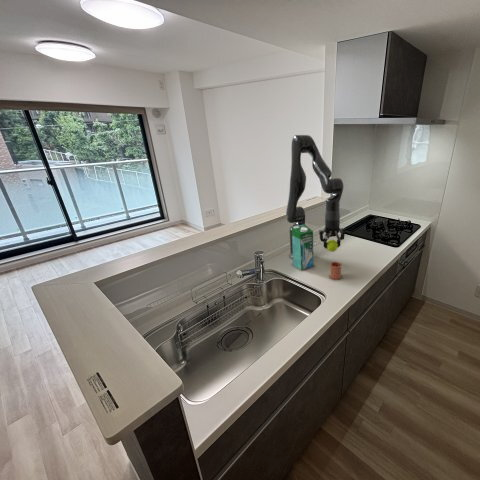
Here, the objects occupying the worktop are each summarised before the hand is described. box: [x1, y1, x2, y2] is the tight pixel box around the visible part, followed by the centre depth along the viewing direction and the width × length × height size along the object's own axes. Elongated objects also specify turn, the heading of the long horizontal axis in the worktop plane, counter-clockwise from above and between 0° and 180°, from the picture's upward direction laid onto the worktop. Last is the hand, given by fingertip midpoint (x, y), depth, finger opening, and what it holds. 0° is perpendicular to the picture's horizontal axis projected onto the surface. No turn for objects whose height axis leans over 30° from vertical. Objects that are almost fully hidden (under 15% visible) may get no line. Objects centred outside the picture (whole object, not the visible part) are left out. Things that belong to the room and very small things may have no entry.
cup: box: [329, 261, 342, 280], centre depth 144 cm, size 6×6×8 cm
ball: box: [326, 239, 339, 253], centre depth 140 cm, size 6×6×6 cm
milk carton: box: [292, 223, 314, 271], centre depth 155 cm, size 9×9×25 cm
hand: (331, 247), depth 140 cm, fingers closed on ball, 6 cm apart
